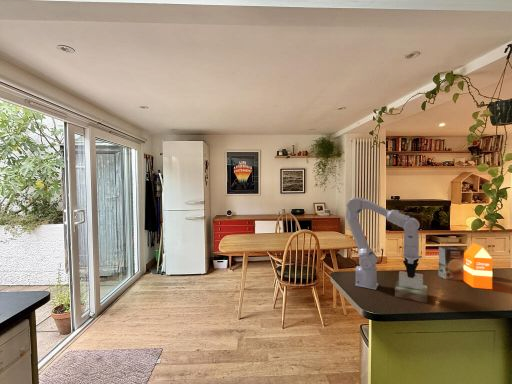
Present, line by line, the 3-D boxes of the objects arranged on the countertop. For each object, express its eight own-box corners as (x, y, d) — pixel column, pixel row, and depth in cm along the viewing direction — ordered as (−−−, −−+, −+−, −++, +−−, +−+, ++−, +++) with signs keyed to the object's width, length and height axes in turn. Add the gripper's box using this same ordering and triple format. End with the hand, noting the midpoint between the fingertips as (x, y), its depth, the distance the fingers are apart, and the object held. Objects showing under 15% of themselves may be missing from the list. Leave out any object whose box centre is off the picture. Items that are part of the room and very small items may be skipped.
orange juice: (473, 287, 121) (473, 246, 120) (463, 280, 129) (463, 242, 129) (492, 289, 119) (493, 247, 118) (481, 282, 127) (481, 243, 127)
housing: (399, 286, 113) (398, 272, 113) (399, 282, 117) (399, 269, 117) (423, 290, 108) (422, 275, 108) (423, 286, 112) (422, 272, 112)
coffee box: (445, 279, 131) (445, 249, 131) (438, 275, 137) (438, 246, 137) (464, 280, 130) (464, 249, 130) (455, 276, 136) (456, 246, 136)
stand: (394, 296, 111) (394, 287, 111) (396, 288, 120) (396, 280, 120) (427, 303, 105) (427, 293, 105) (427, 294, 113) (427, 285, 113)
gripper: (421, 250, 104) (421, 282, 104) (421, 243, 116) (421, 272, 116) (402, 247, 108) (402, 279, 108) (404, 241, 120) (404, 269, 120)
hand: (411, 275), depth 112 cm, fingers closed on housing, 5 cm apart
